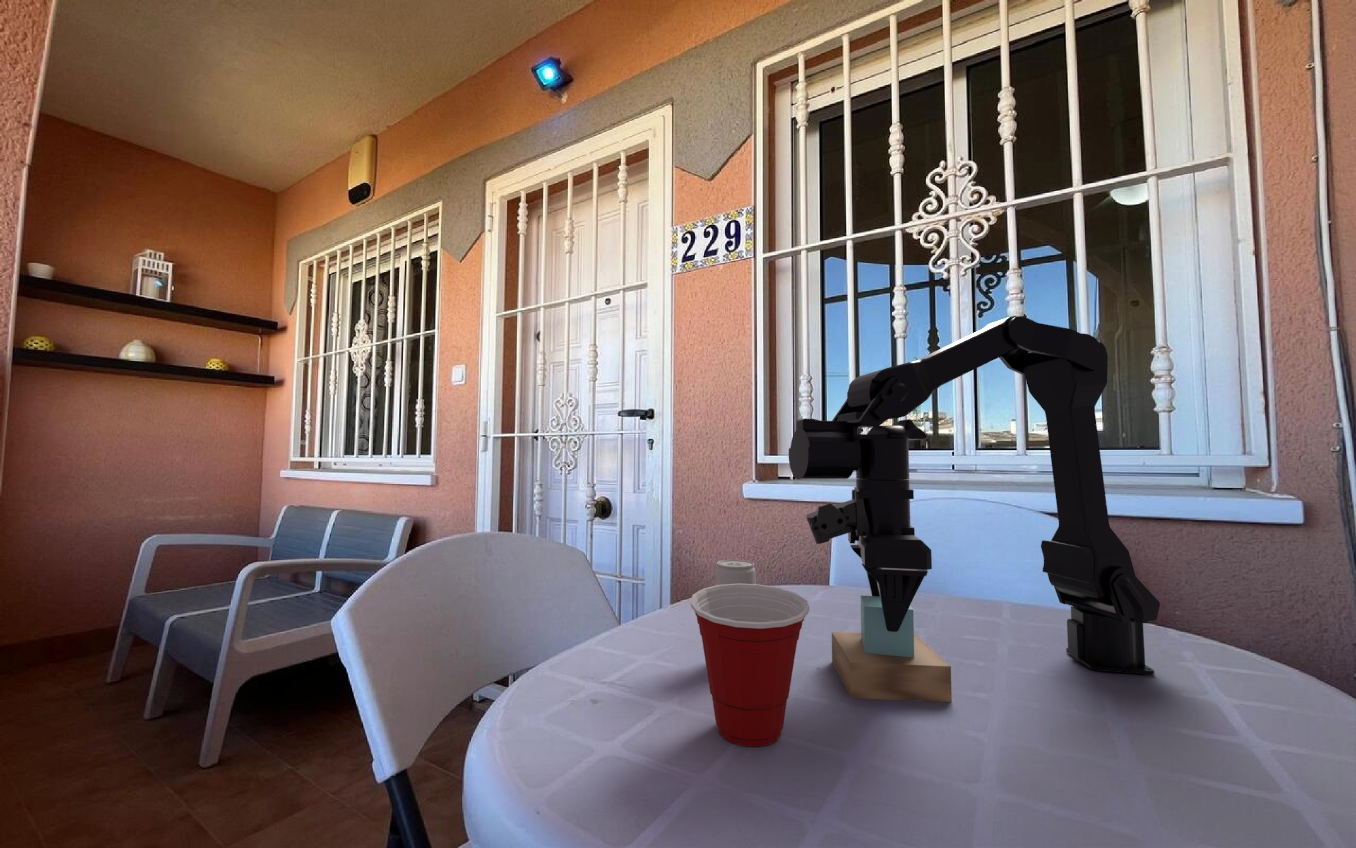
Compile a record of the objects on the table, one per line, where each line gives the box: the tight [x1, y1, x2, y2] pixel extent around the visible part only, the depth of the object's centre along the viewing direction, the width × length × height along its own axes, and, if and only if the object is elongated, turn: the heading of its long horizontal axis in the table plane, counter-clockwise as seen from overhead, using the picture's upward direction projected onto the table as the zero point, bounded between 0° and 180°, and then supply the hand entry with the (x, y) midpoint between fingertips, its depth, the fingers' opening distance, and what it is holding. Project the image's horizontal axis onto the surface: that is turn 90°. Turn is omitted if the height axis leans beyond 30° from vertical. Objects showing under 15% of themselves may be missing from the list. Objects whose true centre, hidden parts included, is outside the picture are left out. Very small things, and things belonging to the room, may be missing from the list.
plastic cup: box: [689, 583, 811, 748], centre depth 49 cm, size 11×11×12 cm
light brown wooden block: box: [831, 631, 953, 703], centre depth 61 cm, size 10×10×4 cm
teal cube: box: [860, 594, 915, 657], centre depth 61 cm, size 5×5×5 cm
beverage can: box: [715, 559, 757, 586], centre depth 66 cm, size 5×5×12 cm
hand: (885, 618), depth 61 cm, fingers open, 9 cm apart
